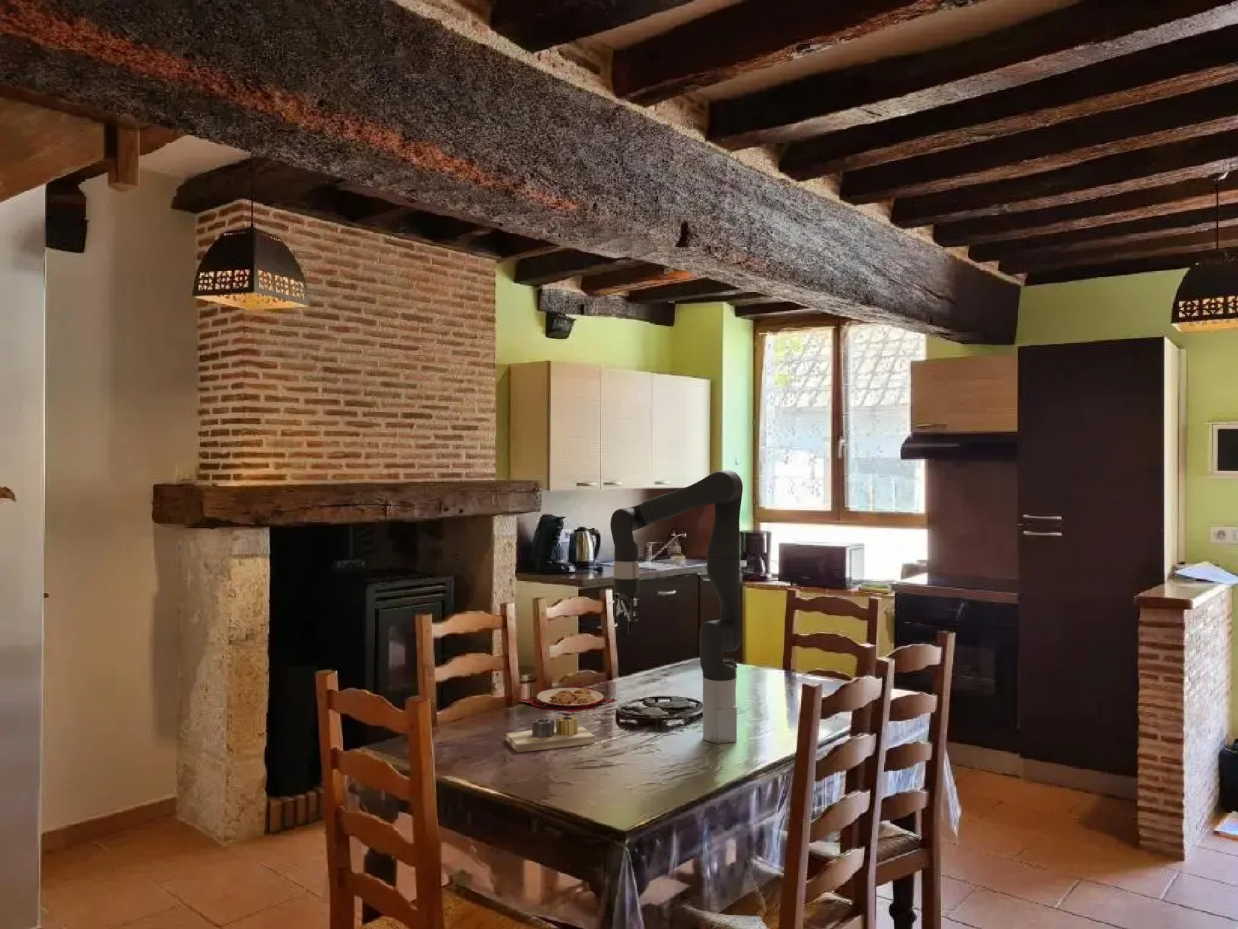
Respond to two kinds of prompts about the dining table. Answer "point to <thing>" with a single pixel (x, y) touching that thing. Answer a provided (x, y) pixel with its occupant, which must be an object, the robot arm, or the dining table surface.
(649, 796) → the dining table surface
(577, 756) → the dining table surface
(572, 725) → the brass gear
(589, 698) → the plate with food
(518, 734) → the gear board
